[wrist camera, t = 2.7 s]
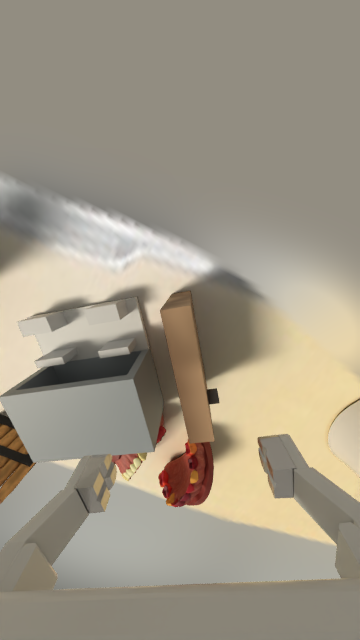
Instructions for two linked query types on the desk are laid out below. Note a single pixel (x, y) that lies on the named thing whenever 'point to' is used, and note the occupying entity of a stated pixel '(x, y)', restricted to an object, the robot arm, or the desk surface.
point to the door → (188, 366)
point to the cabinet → (88, 385)
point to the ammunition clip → (11, 458)
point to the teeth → (177, 472)
